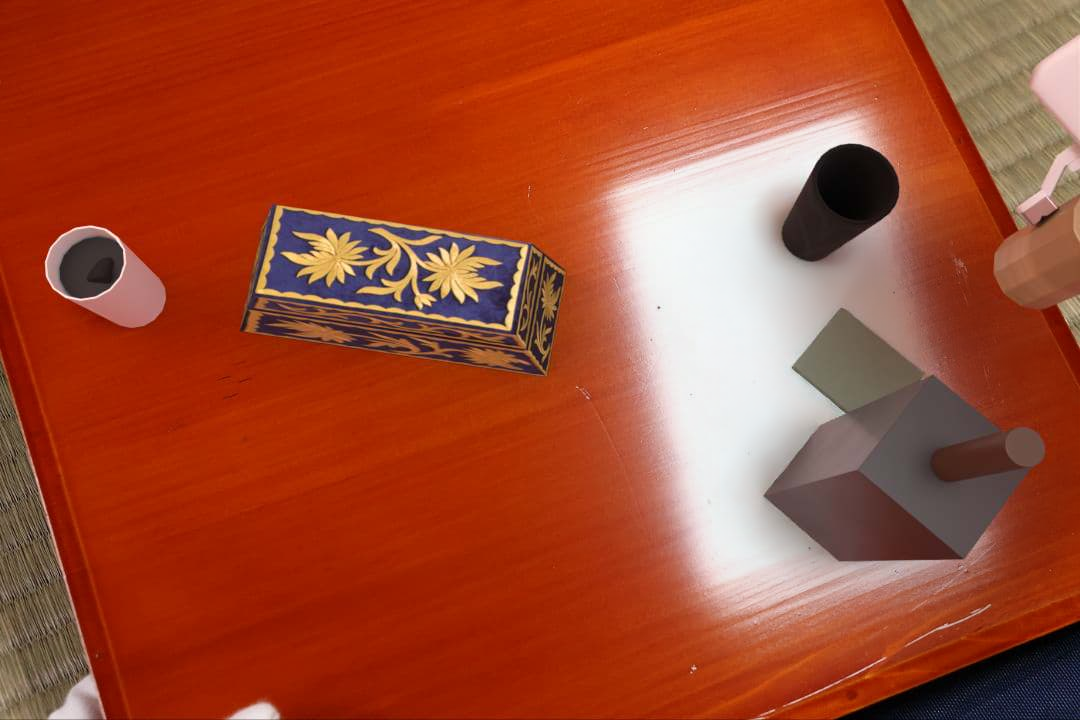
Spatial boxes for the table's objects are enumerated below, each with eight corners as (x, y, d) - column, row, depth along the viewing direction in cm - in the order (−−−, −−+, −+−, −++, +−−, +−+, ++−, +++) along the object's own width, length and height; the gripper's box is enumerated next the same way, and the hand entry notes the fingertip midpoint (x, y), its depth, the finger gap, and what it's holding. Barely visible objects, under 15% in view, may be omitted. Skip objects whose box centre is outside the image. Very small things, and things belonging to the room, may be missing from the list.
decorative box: (262, 225, 84) (234, 186, 76) (566, 271, 84) (573, 237, 76) (237, 331, 82) (205, 302, 73) (551, 377, 82) (557, 355, 73)
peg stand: (896, 487, 81) (1130, 440, 51) (839, 561, 79) (1047, 558, 49) (820, 424, 82) (1005, 341, 52) (763, 495, 80) (919, 452, 50)
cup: (760, 210, 87) (799, 155, 75) (829, 191, 88) (879, 133, 76) (787, 280, 85) (832, 234, 74) (858, 259, 86) (913, 211, 74)
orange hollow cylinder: (1085, 265, 57) (1179, 221, 49) (1044, 324, 56) (1134, 288, 48) (1020, 217, 57) (1103, 166, 50) (978, 275, 56) (1056, 231, 49)
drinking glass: (174, 266, 83) (130, 226, 73) (166, 333, 81) (121, 301, 72) (104, 264, 83) (50, 224, 73) (94, 331, 81) (39, 299, 71)
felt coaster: (922, 375, 84) (925, 373, 83) (874, 436, 82) (876, 435, 81) (840, 308, 85) (842, 306, 84) (791, 367, 83) (793, 366, 83)
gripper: (1179, -63, 44) (939, 130, 51) (1485, 255, 40) (1178, 410, 48) (1174, -44, 49) (957, 129, 56) (1446, 240, 45) (1174, 382, 53)
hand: (1060, 260), depth 52 cm, fingers closed on orange hollow cylinder, 5 cm apart
